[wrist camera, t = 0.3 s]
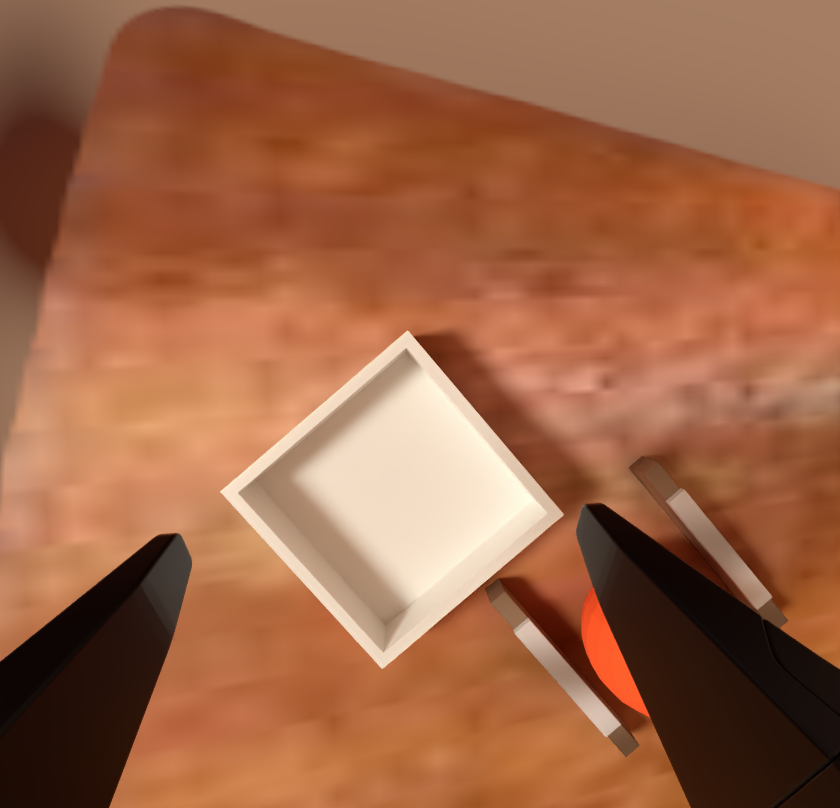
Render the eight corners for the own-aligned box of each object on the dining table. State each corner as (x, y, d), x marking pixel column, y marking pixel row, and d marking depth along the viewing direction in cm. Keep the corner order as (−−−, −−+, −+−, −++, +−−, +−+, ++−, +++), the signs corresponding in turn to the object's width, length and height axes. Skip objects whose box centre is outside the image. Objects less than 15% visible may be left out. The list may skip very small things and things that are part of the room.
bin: (544, 498, 24) (564, 514, 21) (385, 633, 24) (382, 669, 21) (407, 337, 23) (407, 330, 20) (244, 477, 23) (220, 491, 20)
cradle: (765, 605, 25) (794, 623, 23) (612, 734, 25) (628, 762, 23) (642, 455, 24) (661, 462, 22) (484, 590, 24) (491, 606, 22)
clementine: (667, 518, 24) (776, 575, 17) (708, 622, 25) (830, 720, 18) (543, 571, 24) (600, 650, 17) (586, 675, 25) (659, 794, 17)
